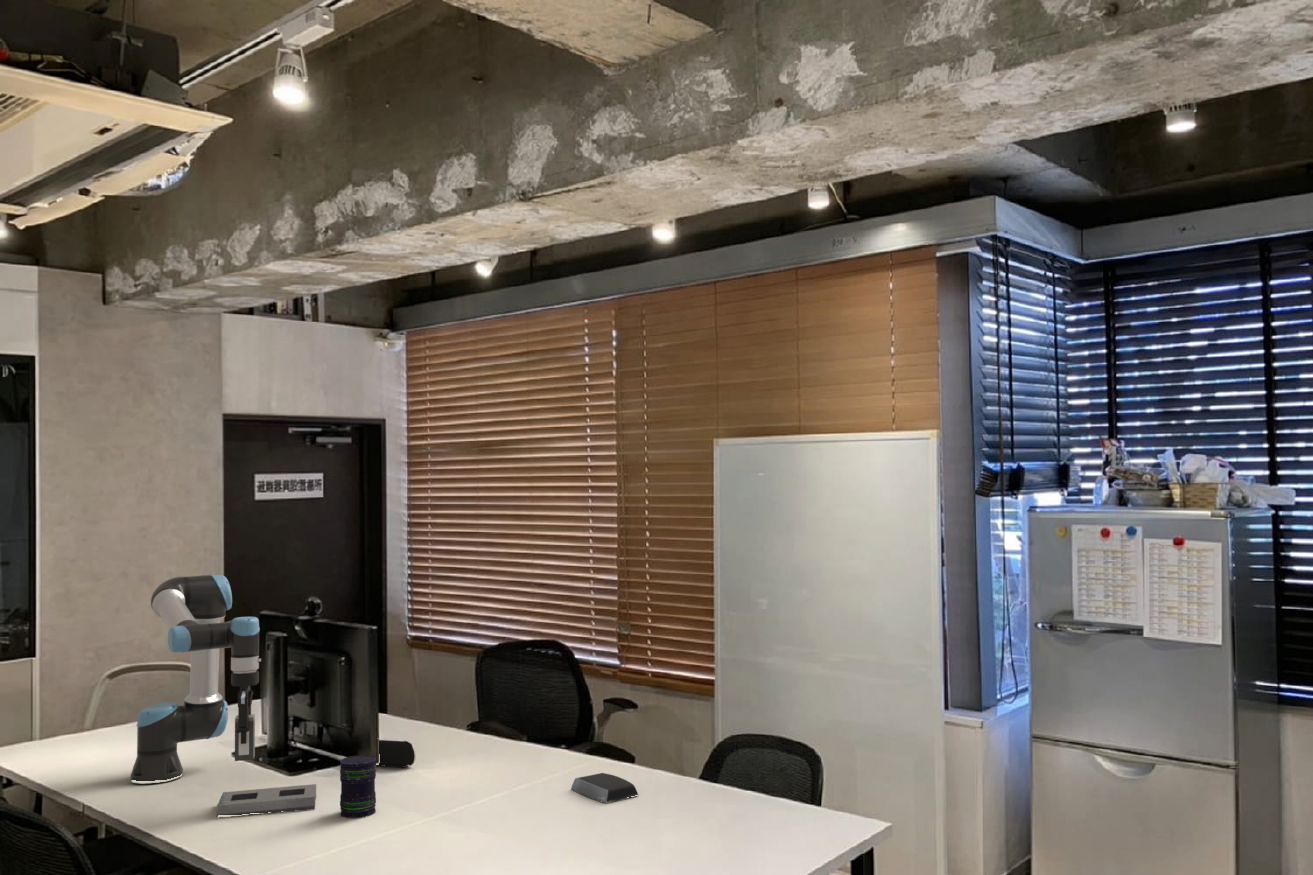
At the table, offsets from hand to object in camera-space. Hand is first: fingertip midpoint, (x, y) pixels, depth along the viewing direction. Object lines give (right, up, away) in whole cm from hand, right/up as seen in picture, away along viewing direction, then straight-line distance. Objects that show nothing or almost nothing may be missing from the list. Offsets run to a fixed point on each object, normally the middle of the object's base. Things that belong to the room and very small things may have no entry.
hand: (244, 752), depth 302 cm
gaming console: (+30, -18, +44) cm, 57 cm away
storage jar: (+35, -16, -6) cm, 39 cm away
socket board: (+7, -16, +1) cm, 17 cm away
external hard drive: (+104, -16, +10) cm, 105 cm away
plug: (0, -2, 0) cm, 2 cm away
